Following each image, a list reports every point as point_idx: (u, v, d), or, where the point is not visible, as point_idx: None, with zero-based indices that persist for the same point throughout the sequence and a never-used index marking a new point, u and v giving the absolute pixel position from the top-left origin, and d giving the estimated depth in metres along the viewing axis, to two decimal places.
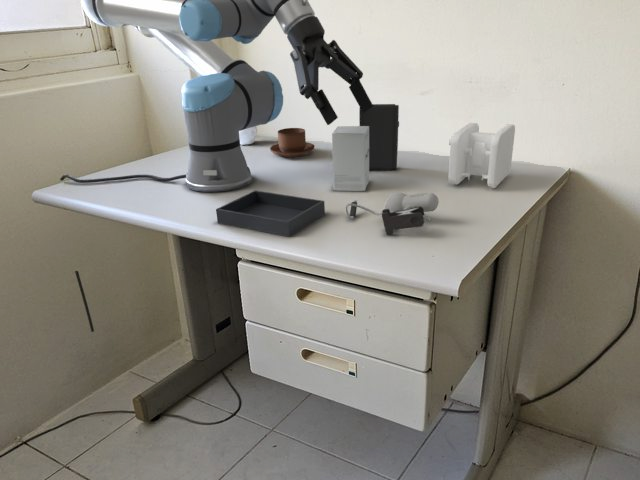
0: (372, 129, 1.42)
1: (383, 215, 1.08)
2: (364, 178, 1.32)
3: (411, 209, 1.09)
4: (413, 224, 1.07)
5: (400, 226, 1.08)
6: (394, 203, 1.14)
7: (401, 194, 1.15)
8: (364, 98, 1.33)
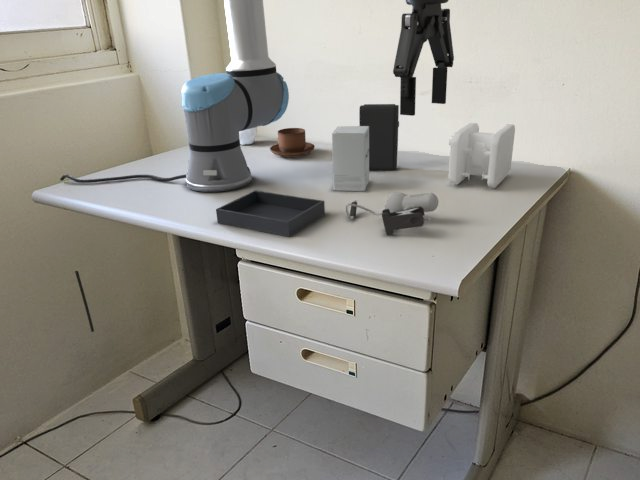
0: (372, 129, 1.42)
1: (383, 215, 1.08)
2: (364, 178, 1.32)
3: (411, 209, 1.09)
4: (413, 224, 1.07)
5: (400, 226, 1.08)
6: (394, 203, 1.14)
7: (401, 194, 1.15)
8: (442, 91, 1.18)
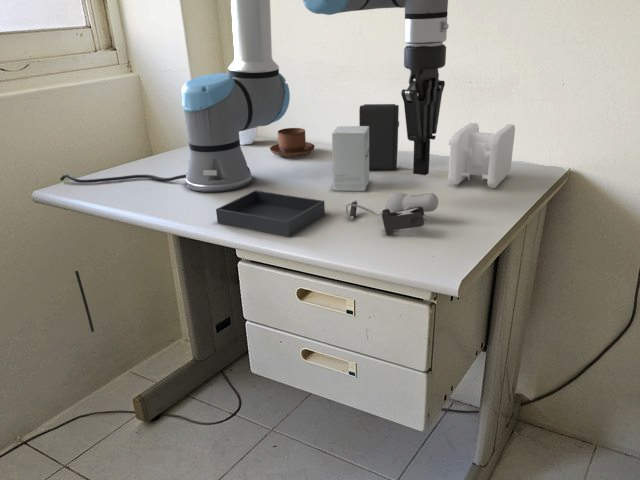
0: (372, 129, 1.42)
1: (383, 215, 1.08)
2: (364, 178, 1.32)
3: (411, 209, 1.09)
4: (413, 224, 1.07)
5: (400, 226, 1.08)
6: (394, 203, 1.14)
7: (401, 194, 1.15)
8: None
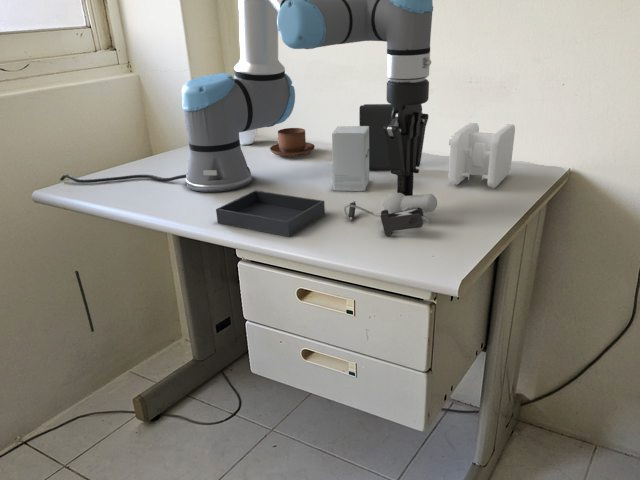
0: (372, 129, 1.42)
1: (382, 216, 1.08)
2: (364, 178, 1.32)
3: (410, 210, 1.08)
4: (412, 225, 1.07)
5: (399, 227, 1.08)
6: (393, 204, 1.14)
7: (400, 195, 1.14)
8: None
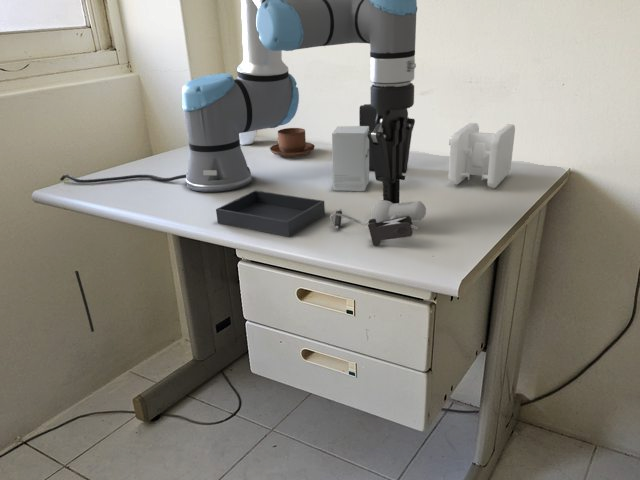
0: (372, 129, 1.42)
1: (370, 225, 1.04)
2: (364, 178, 1.32)
3: (398, 219, 1.05)
4: (401, 234, 1.03)
5: (387, 236, 1.04)
6: (380, 212, 1.10)
7: (387, 203, 1.11)
8: None
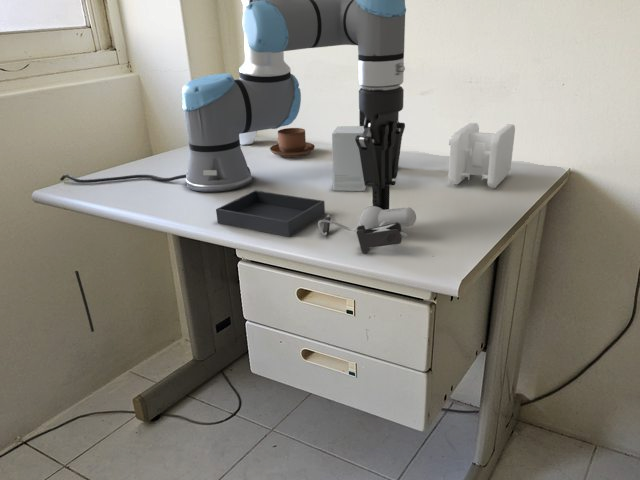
0: None
1: (358, 232, 1.02)
2: None
3: (387, 225, 1.02)
4: (390, 241, 1.01)
5: (376, 244, 1.02)
6: (369, 218, 1.07)
7: (377, 209, 1.08)
8: None
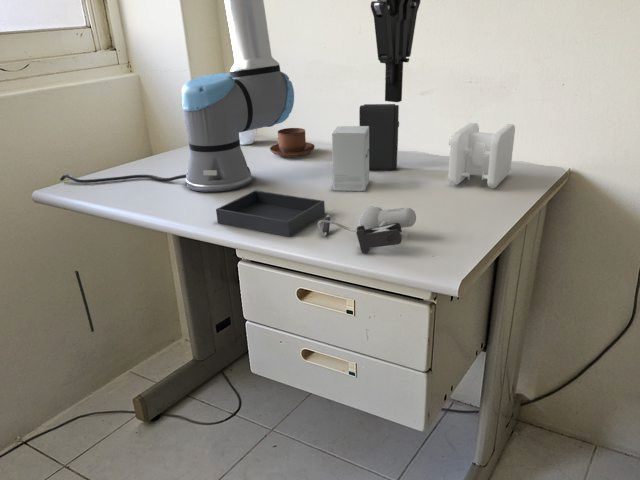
0: (372, 129, 1.42)
1: (358, 232, 1.02)
2: (364, 178, 1.32)
3: (387, 226, 1.02)
4: (390, 242, 1.01)
5: (376, 244, 1.02)
6: (369, 219, 1.07)
7: (376, 209, 1.08)
8: None
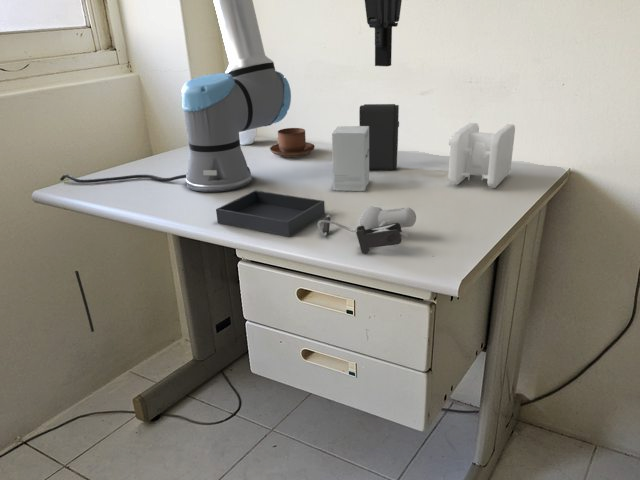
0: (372, 129, 1.42)
1: (358, 232, 1.02)
2: (364, 178, 1.32)
3: (387, 226, 1.02)
4: (390, 242, 1.01)
5: (376, 244, 1.02)
6: (369, 219, 1.07)
7: (376, 209, 1.08)
8: None
